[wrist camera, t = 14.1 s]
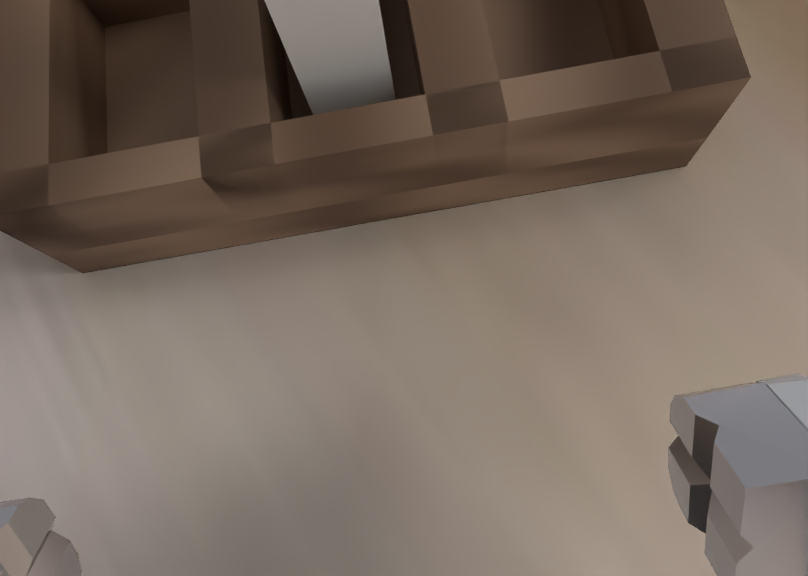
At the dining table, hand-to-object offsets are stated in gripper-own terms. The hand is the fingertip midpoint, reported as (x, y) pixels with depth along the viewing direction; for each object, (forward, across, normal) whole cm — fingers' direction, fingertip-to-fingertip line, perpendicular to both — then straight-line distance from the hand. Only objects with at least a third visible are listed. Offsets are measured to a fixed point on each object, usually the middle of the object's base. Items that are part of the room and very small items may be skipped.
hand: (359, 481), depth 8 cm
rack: (+13, 0, -2) cm, 13 cm away
